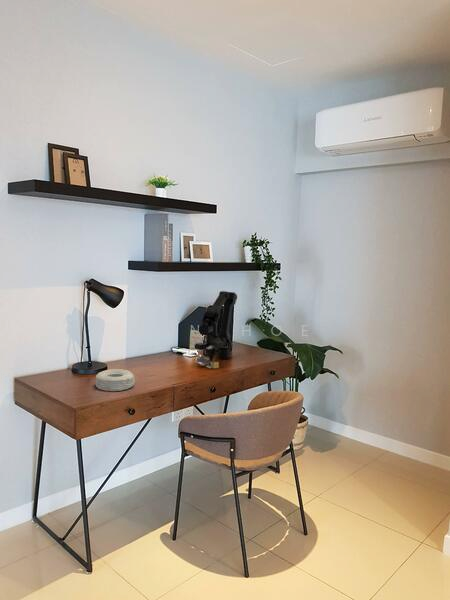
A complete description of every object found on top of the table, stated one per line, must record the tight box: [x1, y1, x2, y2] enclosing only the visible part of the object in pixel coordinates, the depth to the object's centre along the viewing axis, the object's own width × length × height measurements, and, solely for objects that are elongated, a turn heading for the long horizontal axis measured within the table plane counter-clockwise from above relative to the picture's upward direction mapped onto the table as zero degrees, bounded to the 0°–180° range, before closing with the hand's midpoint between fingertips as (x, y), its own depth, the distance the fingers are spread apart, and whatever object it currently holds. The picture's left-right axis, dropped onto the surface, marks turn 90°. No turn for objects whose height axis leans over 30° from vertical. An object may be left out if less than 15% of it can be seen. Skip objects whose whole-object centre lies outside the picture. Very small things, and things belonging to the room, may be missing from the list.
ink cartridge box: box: [189, 329, 204, 355], centre depth 289 cm, size 9×5×15 cm, turn 62°
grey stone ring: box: [95, 368, 135, 392], centre depth 218 cm, size 18×18×6 cm
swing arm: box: [196, 354, 220, 369], centre depth 265 cm, size 18×4×4 cm, turn 34°
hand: (211, 360), depth 265 cm, fingers closed
